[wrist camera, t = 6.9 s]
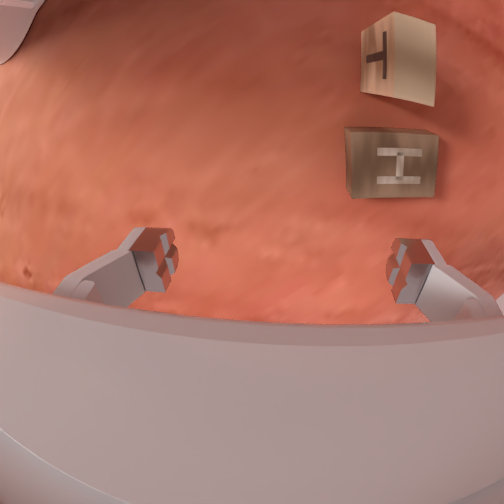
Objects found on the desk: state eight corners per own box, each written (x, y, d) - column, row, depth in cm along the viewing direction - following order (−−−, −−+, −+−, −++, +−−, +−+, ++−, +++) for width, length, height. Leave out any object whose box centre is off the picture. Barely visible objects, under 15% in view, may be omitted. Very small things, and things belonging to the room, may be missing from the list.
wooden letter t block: (360, 31, 17) (392, 11, 10) (392, 38, 17) (435, 24, 10) (359, 91, 20) (392, 97, 13) (391, 97, 20) (434, 106, 13)
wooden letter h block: (350, 132, 20) (439, 135, 19) (343, 126, 23) (424, 129, 21) (352, 198, 23) (434, 197, 22) (345, 186, 26) (421, 185, 25)
